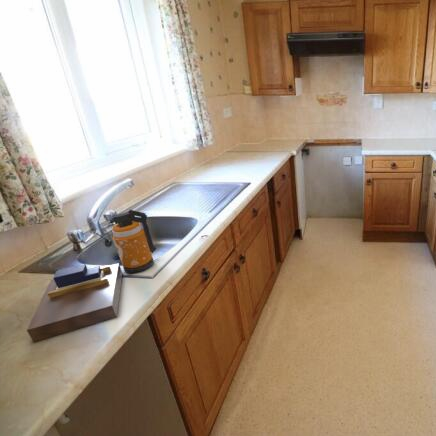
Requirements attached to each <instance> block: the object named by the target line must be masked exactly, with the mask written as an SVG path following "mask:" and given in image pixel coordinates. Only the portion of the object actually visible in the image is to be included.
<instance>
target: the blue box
mask: <svg viewBox="0 0 436 436" xmlns="http://www.w3.org/2000/svg"><path fill="white" fill-rule="evenodd" d="M100 267H101V266H94V267H90V268H88V266H87V265H86V263H84V264H80V265H76V266H71V267H66V268H62V269H58V270H56V272H55V274H54V275H53V279H54V281H55V283H56V285H57V288H56V290H58V289H62V288H66V287H70V286H74V285H78V284H82V283H86V282H90V281H93V280H97V279H101V278H103V277H104V272H103V271H101V268H100Z"/></svg>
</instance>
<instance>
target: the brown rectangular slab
mask: <svg viewBox="0 0 436 436" xmlns="http://www.w3.org/2000/svg"><path fill="white" fill-rule="evenodd" d="M100 268H101V271H103V272H104V277H103V278H101V279H97V280H93V281H90V282H86V283H82V284H78V285H74V286H70V287H66V288H62V289H58V290H56V288H57V285H56V283H55V281H54V279H50V281H49V282H48V285H47V287H46V289H45V291H44V293H43V296H42V297H41V300H40V301H39V303H38V305H37V308H36V310H35V313H33V316H32V318H31V320H30V322H29V324H28V326H27V329H26V332H27V333H28V335H29V337H30V338H31V340H32V342H33V343H37V342H39V341H42V340H46V339H49V338H53V337H56V336H59V335H63V334H66V333H69V332H73V331H76V330H80V329H83V328H85V327H89V326H92V325H96V324H99V323H101V322H106V321H109V320H112V319H116V318H118V312H119V310H118V309H119V305H120V304H119V302H120V295H121V287H122V279H123V271H122V268H121V265H120V263H119V262H118V263H114V264H107V265H104V266H100Z"/></svg>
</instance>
